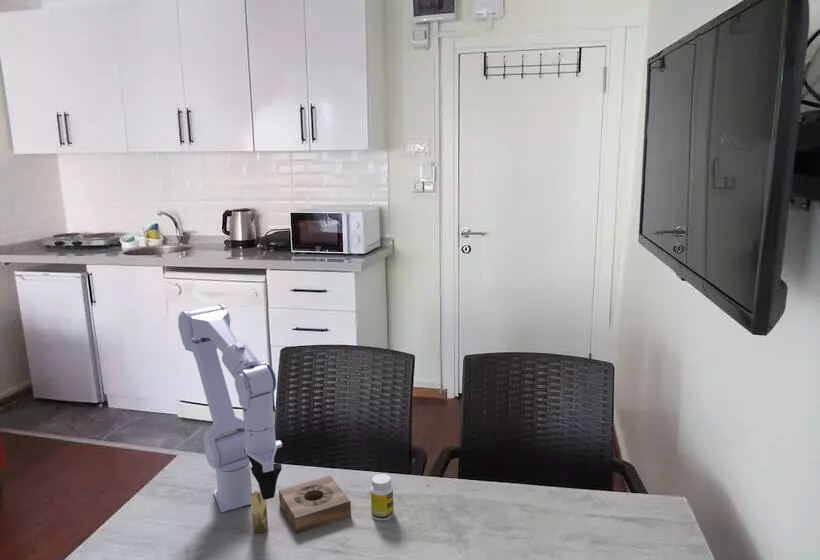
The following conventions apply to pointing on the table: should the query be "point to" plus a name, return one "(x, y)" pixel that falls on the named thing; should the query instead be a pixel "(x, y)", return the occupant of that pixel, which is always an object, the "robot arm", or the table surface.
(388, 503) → the supplement bottle
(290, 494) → the socket block
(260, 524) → the brass peg
